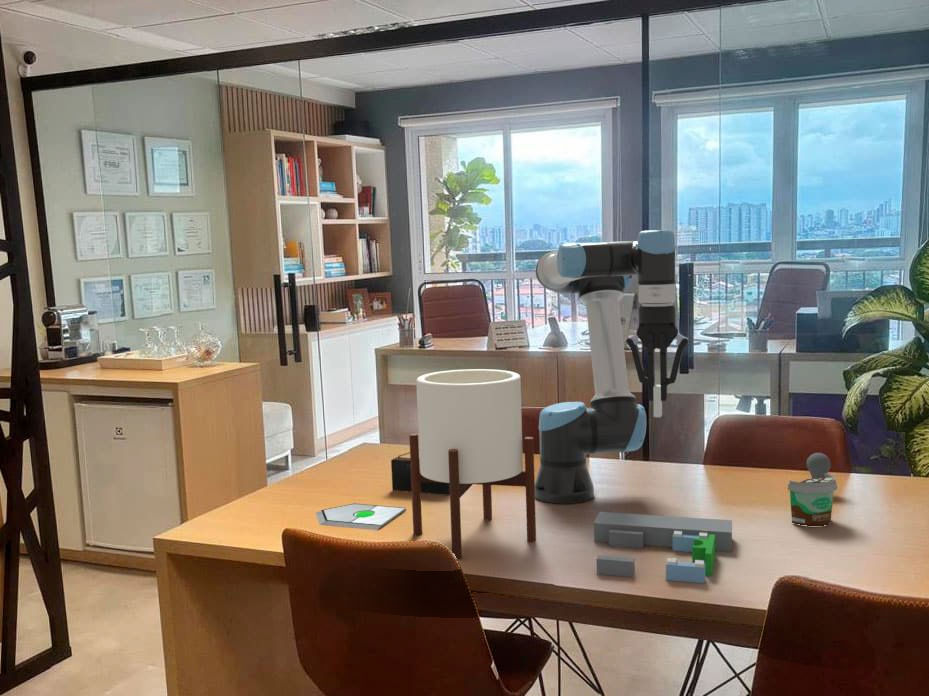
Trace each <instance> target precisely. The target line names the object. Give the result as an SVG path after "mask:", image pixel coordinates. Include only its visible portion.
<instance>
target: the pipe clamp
mask: <svg viewBox="0 0 929 696" xmlns="http://www.w3.org/2000/svg"><path fill="white" fill-rule="evenodd" d="M691 554H692V555H691V556H692V557H691V559H692V560H691V561H692V562H691V563H695V560H703V561H704V564H705V577H706V576H707V577H712V576H713V569H714V563H715V558H716V550H715V535H712V534H709V538H708V539H700V538H694V546H692V552H691Z"/></svg>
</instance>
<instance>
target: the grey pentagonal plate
mask: <svg viewBox="0 0 929 696" xmlns="http://www.w3.org/2000/svg"><path fill="white" fill-rule="evenodd" d="M406 510H407V508H406V507H400V506H390V505H389V506H388V505H377V504H376V505H375V504H365V503H364V504H363V503H350V504H344V505H341V506H335V507H329V508H325V509H321V510H319V511H316V512H315V516H316V518H317V522H318V523H319V526H327V527H328V526H329V527H337V528H338V527H340V528H349V529H359V530H369V531H370V530H372V531H378V530H380V529H381V528H382V527H384V526H385V525H387V524H389V522H391V521H392V520H394V519H395V518H397V517H398V516H399V515H401V514H402V513H404V512H405V511H406Z"/></svg>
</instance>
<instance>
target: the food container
mask: <svg viewBox="0 0 929 696" xmlns="http://www.w3.org/2000/svg"><path fill="white" fill-rule="evenodd" d="M835 478H836V477H834V475H832V474H830V473H825V474H824V477H822V478H817V479H812V478H806V479H803V480H802V481H800V482H799V481H795V480H794V481H793V480H789V481H788V484H787V485H788V486H787V490H788V491H789V497H790V512H791V513H790V514H791V524H792V523H795V524H800V525H807V526H823V527H825V526H824V525H827V526H829V525H830V524H831V523H830V522H832V521H831V520H832V514H833V513H832V512H833V502H834V494H835V493H834V492H835V491H837V489H838V485H837V481H836V479H835ZM829 523H830V524H829ZM795 524H794V525H795ZM828 524H829V525H828Z"/></svg>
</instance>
